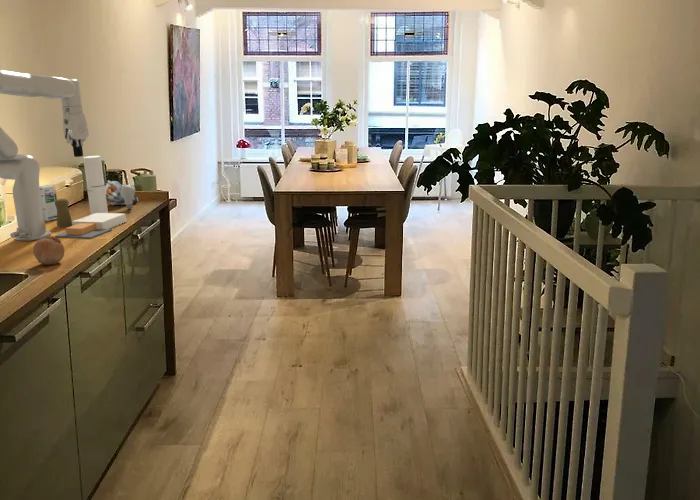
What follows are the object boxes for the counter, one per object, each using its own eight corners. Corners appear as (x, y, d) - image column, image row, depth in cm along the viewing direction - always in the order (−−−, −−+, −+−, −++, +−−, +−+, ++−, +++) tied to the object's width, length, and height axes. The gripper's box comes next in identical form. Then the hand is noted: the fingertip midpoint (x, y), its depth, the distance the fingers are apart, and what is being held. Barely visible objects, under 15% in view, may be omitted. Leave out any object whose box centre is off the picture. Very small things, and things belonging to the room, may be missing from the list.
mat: (91, 238, 271) (91, 237, 271) (55, 237, 276) (54, 235, 276) (111, 230, 283) (111, 229, 283) (76, 229, 288) (76, 227, 288)
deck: (103, 230, 283) (102, 222, 282) (72, 229, 287) (71, 221, 286) (126, 221, 298) (125, 213, 297) (97, 221, 302) (96, 212, 301)
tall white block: (104, 215, 313) (97, 157, 306) (88, 216, 313) (80, 158, 307) (110, 212, 320) (103, 155, 313) (94, 212, 320) (86, 156, 314)
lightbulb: (119, 210, 323) (116, 185, 320) (129, 207, 328) (126, 183, 325) (129, 211, 320) (126, 186, 317) (139, 208, 325) (136, 184, 323)
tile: (82, 234, 276) (81, 228, 275) (66, 234, 277) (65, 228, 277) (96, 229, 284) (95, 223, 283) (80, 228, 286) (80, 223, 285)
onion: (62, 269, 242) (73, 241, 242) (52, 270, 233) (62, 240, 233) (35, 260, 242) (46, 232, 242) (23, 260, 233) (34, 230, 233)
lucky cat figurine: (141, 204, 335) (127, 180, 326) (117, 216, 332) (102, 193, 323) (133, 190, 346) (119, 167, 337) (110, 202, 343) (96, 179, 335)
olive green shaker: (67, 227, 293) (63, 200, 290) (54, 227, 294) (50, 200, 291) (75, 223, 299) (72, 197, 296) (62, 223, 300) (58, 197, 297)
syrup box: (47, 221, 306) (42, 187, 302) (40, 219, 309) (35, 186, 306) (60, 218, 310) (55, 185, 306) (52, 217, 314) (47, 184, 310)
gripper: (68, 112, 283) (75, 159, 287) (92, 109, 297) (97, 154, 301) (52, 112, 285) (58, 159, 290) (76, 109, 299) (82, 154, 303)
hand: (78, 156), depth 295 cm, fingers closed
